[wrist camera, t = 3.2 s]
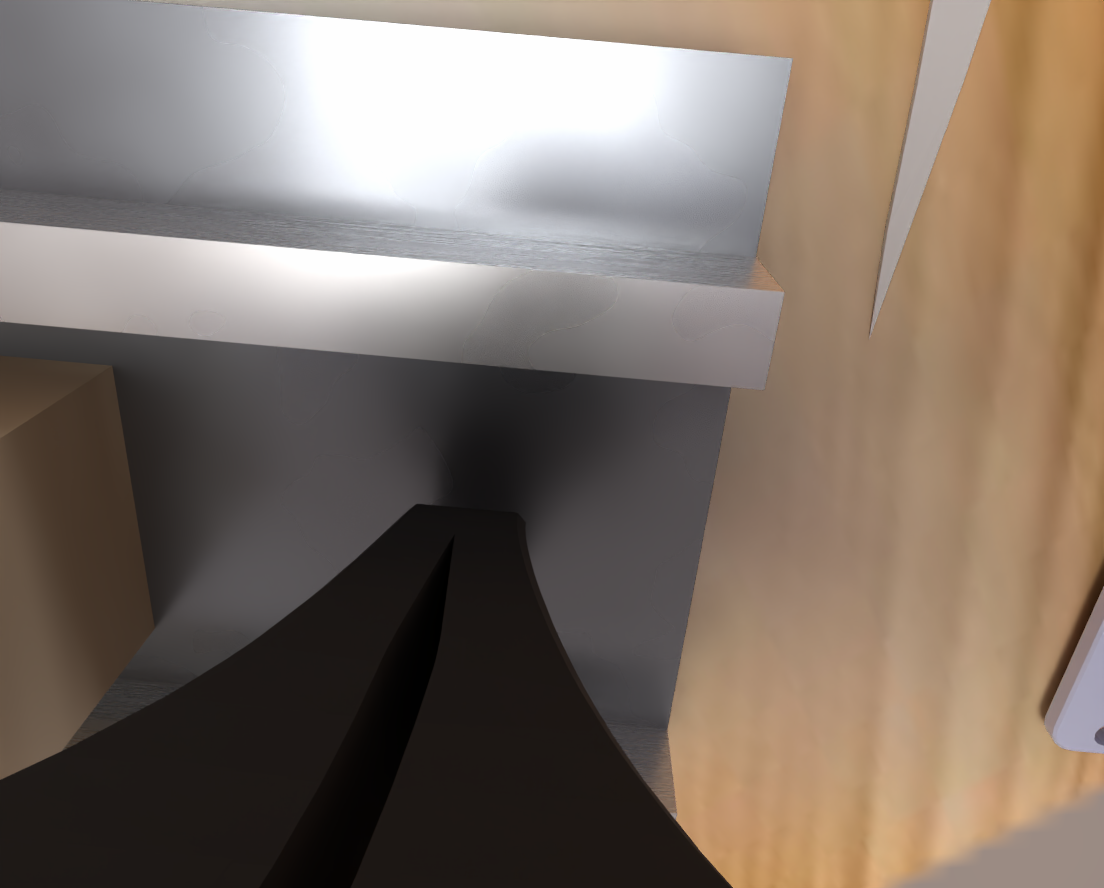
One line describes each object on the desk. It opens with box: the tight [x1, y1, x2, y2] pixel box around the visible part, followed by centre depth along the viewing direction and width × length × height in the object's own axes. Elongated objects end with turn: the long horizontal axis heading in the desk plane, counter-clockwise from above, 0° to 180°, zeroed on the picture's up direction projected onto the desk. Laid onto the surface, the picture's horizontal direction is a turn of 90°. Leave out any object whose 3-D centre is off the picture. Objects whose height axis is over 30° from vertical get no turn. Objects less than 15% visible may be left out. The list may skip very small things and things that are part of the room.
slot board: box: [0, 0, 793, 820], centre depth 12 cm, size 16×12×4 cm
